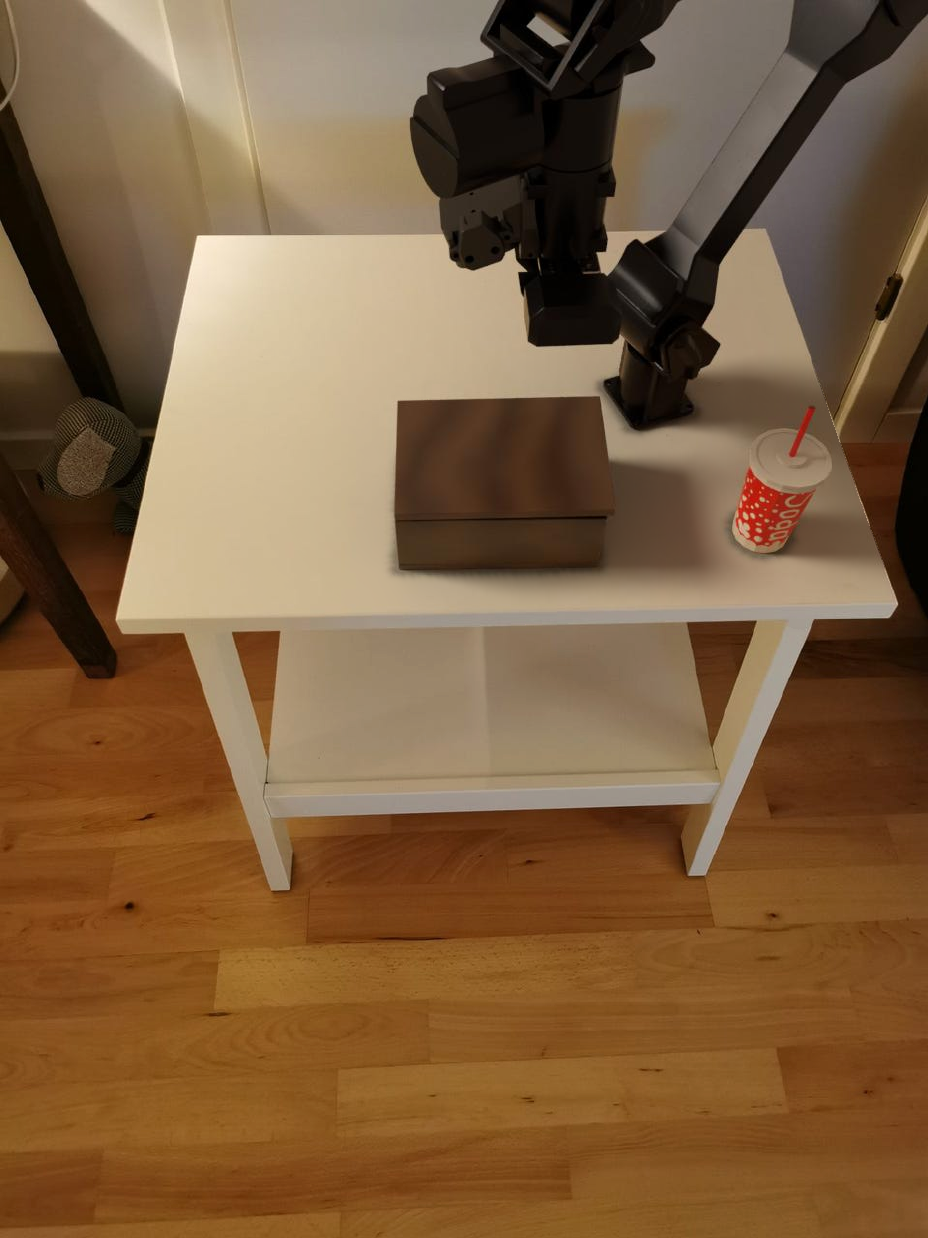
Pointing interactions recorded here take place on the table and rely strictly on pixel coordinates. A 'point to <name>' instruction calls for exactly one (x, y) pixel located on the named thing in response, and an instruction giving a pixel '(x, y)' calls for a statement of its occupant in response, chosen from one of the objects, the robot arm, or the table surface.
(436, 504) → the cover
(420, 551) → the case
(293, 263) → the table surface
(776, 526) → the beverage cup
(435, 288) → the table surface
